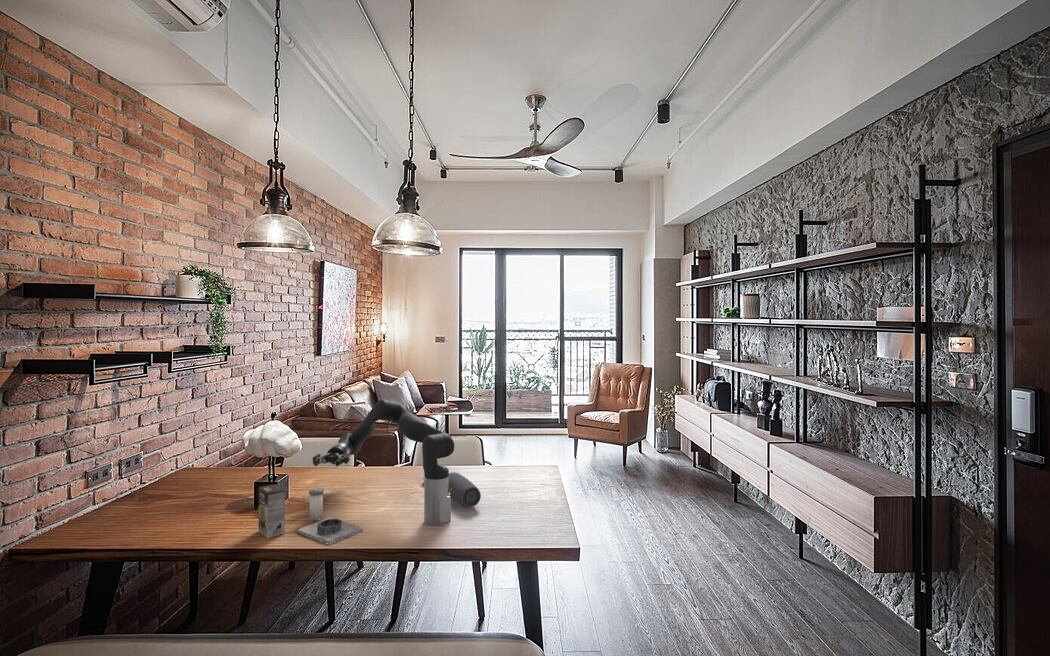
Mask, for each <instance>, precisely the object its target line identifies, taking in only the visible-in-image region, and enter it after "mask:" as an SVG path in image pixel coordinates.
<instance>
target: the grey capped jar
mask: <svg viewBox="0 0 1050 656" xmlns="http://www.w3.org/2000/svg"><path fill="white" fill-rule="evenodd" d="M324 493H325V490H324V488H321V487H317V488H316V487H315V488H311V489H309V490H308V495H309V521H311V520H319V519H321V520H323V519H322V518H324V516H323V515H324V514H323V513H324V510H323V508H324V507H323V506H324V505H323V503H324V502H323V501H324V499H323V497H324V495H323V494H324ZM319 521H320V520H319Z"/></svg>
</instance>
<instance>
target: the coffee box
mask: <svg viewBox="0 0 1050 656" xmlns="http://www.w3.org/2000/svg"><path fill="white" fill-rule="evenodd" d="M257 489H258V491H257V492H258V495H257V496H258V498H257V499H258V501H257V502H258V506H257V507H258V508H257V509H258V515H257V516H258V517H257V518H258V532H259V533H260V534H261V535H262V534H263V537H265V538H266V539H270V538H269V537H271V538H273V537H272V536H275V537H277V536H276V535H278V536H280V535H279V534H282V535H284V534H286V533H285V525H286V524H285V523H286V521H285V520H286V519H285V517H286V516H285V515H286V506H285V505H286V497H285V496H286V490H285V489H284V488H283V487H281V486H279V485H278V484H277V483H275V484H270V485H269V484H268V485H262V486H259V487H257ZM283 533H284V534H283Z"/></svg>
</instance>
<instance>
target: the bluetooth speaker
mask: <svg viewBox="0 0 1050 656" xmlns="http://www.w3.org/2000/svg"><path fill="white" fill-rule="evenodd" d="M449 495H451V496H452V497H453V498H454V499H455V501H456V500H457V501H456V502H457V503H458V504H460V505H461V506H464V507H466V508H472V507H476V506H477V505H478V504H479V502H480V501H481V498H482V497H481V496H482V495H481V491H480V489H479V488H478V487H477V486H476V485H475V484H474V483H473V482H472V481H470V480H469V479H468V478H467V477H465V476H464V475H462V474H460V473H458V472H454V471H453V472H449Z"/></svg>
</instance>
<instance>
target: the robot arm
mask: <svg viewBox="0 0 1050 656" xmlns="http://www.w3.org/2000/svg"><path fill="white" fill-rule="evenodd" d="M378 421H383V422H388V423H389V422H391V423H394V424H397V425H398V430H399V432H400V433H401V434H402V435H403V436H404V437H406V438H407V439H408V440H410V441H412V442H416V443H417V442H418V443H421V444H422V447H421V448H422V449H421V450H422V451H421V452H422V468H423V474H424V476H423V477H424V479H423V485H424V486H423V487H424V488H423V491H424V494H423V497H424V500H423V501H424V503H423V507H424V509H423V511H424V514H423V515H424V516H423V519H424V521H423V522H424V523H425V524H426V525H428V526H439V527H440V526H442V525H444V524H447V523H449V522H451V518H452V517H451V516H452V515H451V514H452V513H451V511H452V510H451V509H452V508H451V506H452V500H451V499H452V497H451V496H452V495H451V496H450V493H449V473H450V470H449V468H448V467H446V466H444V465H439V464H438V460H439V459H443V458H447V457H449V456H451V455H452V454H453V453H454V451H455V442H454V440H453V438H452V437H451V435H449V433H447V432H444V431H442V430H441V429H438V428H436V427H434V426H432V425H431V424H429V423H428V422H426V421H424V419H422V418H420V417H419V416H417V415H416V414H414V413H412V412H411V411H408V409H406V408H405V407H404V406H403V405H402V404H401V403H400V402H398V401H396V400H389V399H382V398H381V399H379V400H378V401H377V402H376V403H375V404H374V405H373V406H372V408H371V409H370V410H369V412H368V414H367V415H366V416H365V418H364V419H363V421H362V422H361V423H360V424H359V425H358V426H356V427H355V428H354V429H353V430H352V432H351V433H350V432H346V433H344V434H343V435H341V436H340V438H339V439H338V441H337V443H336V444H335V445H333V446H332V447H330V448H329V449H328V450H327V452H326V454H322V455H321V453H318V454H316V455H314V456H313V457H312V464H313V466H314V467H317V466H318V465H320V464H332V465H335V467H339V466H340V465H342V464H343V463H344V464H345V465H347V464H349V462H350V461H351V456H355V455H356V454H358V452H360V450H361V448H362V447H363V445H364V442H365V441H366V440H367V439H368V438H370V437H371V436H372V435H373V433H374V430H375V423H376V422H378Z"/></svg>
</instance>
